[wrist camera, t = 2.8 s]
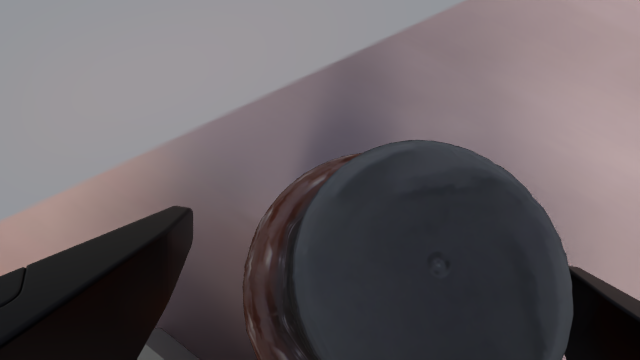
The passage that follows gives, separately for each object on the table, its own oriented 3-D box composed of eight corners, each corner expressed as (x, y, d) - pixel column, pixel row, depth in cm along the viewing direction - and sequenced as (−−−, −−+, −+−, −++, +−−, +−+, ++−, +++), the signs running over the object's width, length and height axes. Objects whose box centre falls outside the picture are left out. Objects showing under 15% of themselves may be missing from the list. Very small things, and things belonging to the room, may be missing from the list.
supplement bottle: (240, 263, 16) (144, 163, 5) (360, 204, 17) (482, 28, 6) (302, 405, 14) (353, 686, 4) (429, 327, 15) (742, 362, 5)
